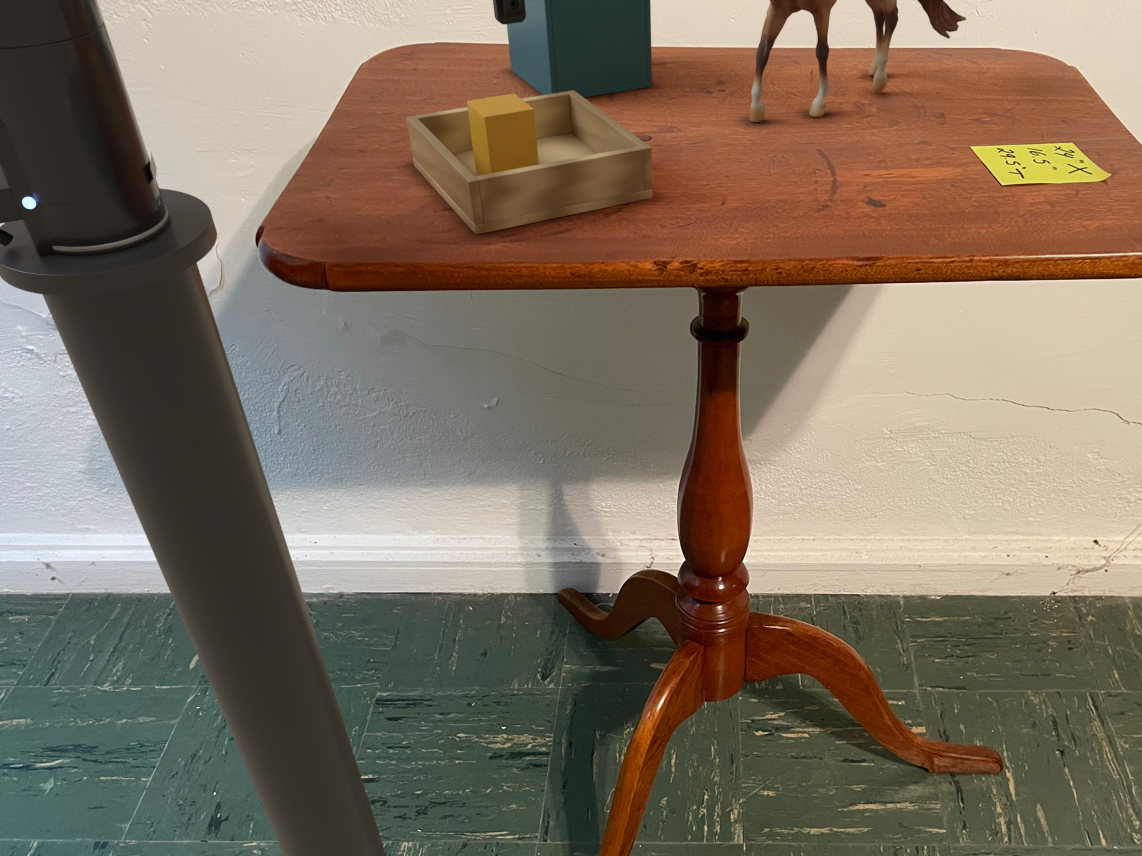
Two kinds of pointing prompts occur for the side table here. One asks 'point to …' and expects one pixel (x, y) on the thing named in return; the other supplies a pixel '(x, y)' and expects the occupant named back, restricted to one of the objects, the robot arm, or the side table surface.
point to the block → (502, 134)
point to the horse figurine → (819, 6)
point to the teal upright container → (583, 46)
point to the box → (541, 192)
